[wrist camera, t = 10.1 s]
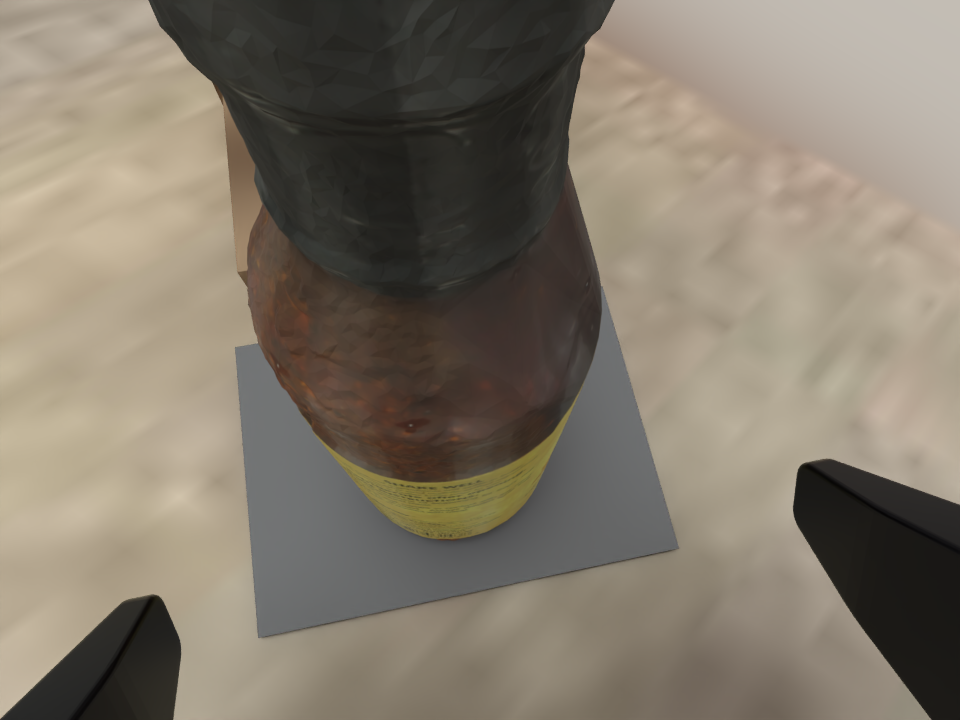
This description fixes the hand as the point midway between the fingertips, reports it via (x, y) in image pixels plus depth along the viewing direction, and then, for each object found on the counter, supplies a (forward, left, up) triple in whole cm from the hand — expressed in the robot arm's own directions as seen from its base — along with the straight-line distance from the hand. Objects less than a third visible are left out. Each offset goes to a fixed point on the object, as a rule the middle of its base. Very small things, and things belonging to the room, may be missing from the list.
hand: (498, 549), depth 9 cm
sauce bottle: (+4, -2, -13) cm, 14 cm away
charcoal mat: (+4, -3, -14) cm, 14 cm away
